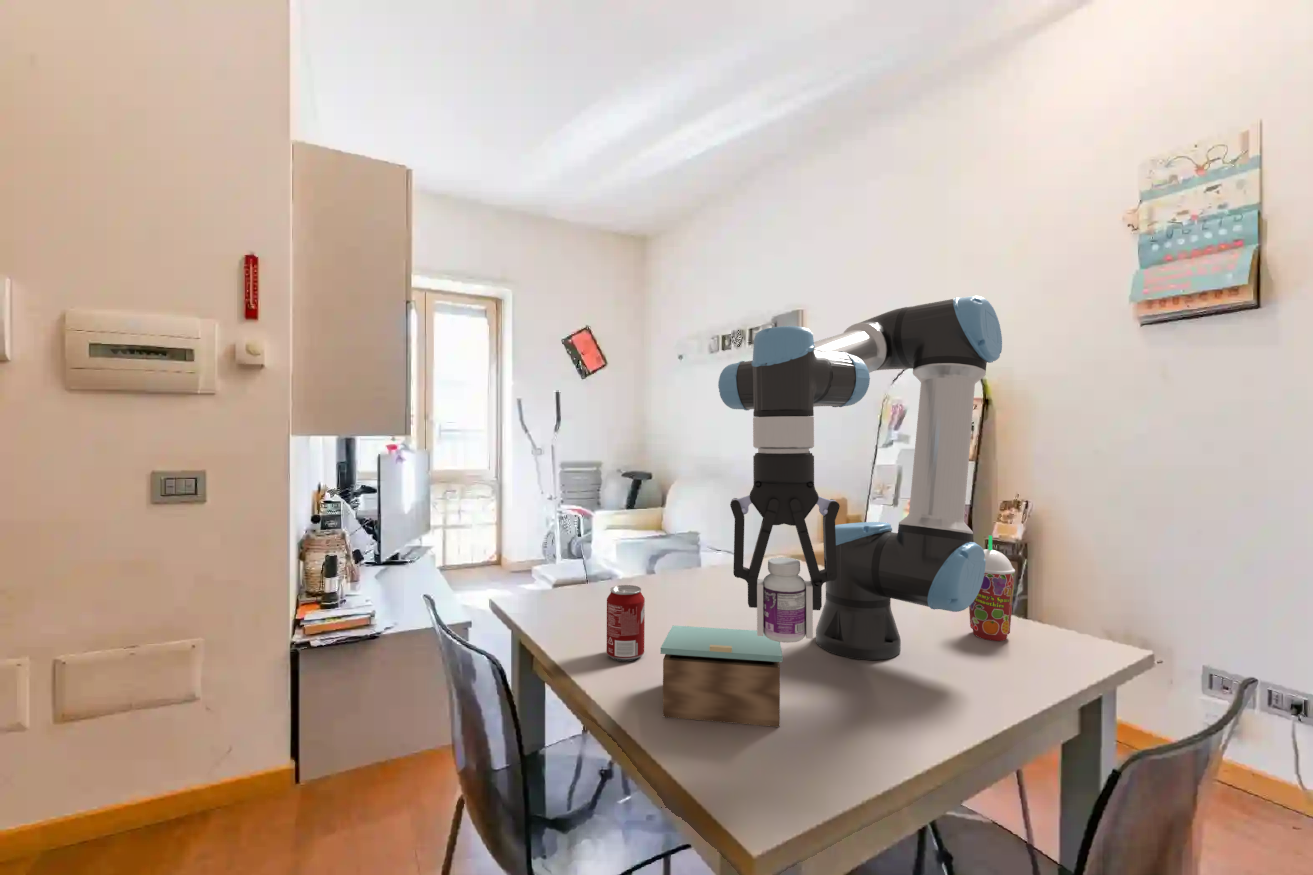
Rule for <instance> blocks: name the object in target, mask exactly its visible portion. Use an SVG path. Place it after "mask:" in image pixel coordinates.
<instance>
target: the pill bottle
mask: <svg viewBox="0 0 1313 875" xmlns="http://www.w3.org/2000/svg"><path fill="white" fill-rule="evenodd" d="M767 570H768V572H769V574H767V575H766V576H765V577H764V578H763V632H764V635H765V636H766V637H767V638H769V639H771V640H773V641H777V642H780V643H786V644H787V643H798V642H800V641H802V640H803V639H804V638H806V586H805V581H806V580H804V578H803V577H802V576H800V575H799V574H800V573H801V561H800V560H798V559H797V558H792V557H781V556H780V557H772V558H769V559H768V560H767Z"/></svg>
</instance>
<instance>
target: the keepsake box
mask: <svg viewBox="0 0 1313 875" xmlns="http://www.w3.org/2000/svg"><path fill="white" fill-rule="evenodd" d="M662 663H663V664H662V718H669V719H670V718H671V719H672V718H673V719H682V720H693V721H705V722H707V721H708V722H715V723H717V722H719V723H727V724H728V723H729V724H730V723H731V724H741V725H749V726H751V725H752V726H764V727H773V728H774V727H775V728H776V727H777V728H780V725H781V724H780V723H781V722H780V720H781V718H780V714H781V710H780V708H781V704H780V703H781V667H780V662H773V661H758V660H744V659H729V658H714V657H700V656H685V655H671V654H664V656H663V660H662Z"/></svg>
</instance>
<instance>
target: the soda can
mask: <svg viewBox="0 0 1313 875" xmlns="http://www.w3.org/2000/svg"><path fill="white" fill-rule="evenodd" d="M645 602H646V601H645V596H644V595H643V594H642V588H641V587H640V586H638V585H632V584H621V585H619V584H618V585H615V586H612V587H611V588H610V593H609V595H608V596H607V598H606V649H605V650H606V651H605V652H606V654H607V656H608V657H610V658H612V659H613V660H615V661H619V662H631V661H634V660H635V661H636V660H637V659H639V658H640V657H642V656H643V655H644V654H645V615H646V614H645V613H646V612H645V611H646V610H645V606H646V605H645Z"/></svg>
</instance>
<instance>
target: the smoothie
mask: <svg viewBox="0 0 1313 875" xmlns="http://www.w3.org/2000/svg"><path fill="white" fill-rule="evenodd" d="M983 550H984V554H985V557H984V559H985V562H986V565H985V574H984V578H983V582H982V585H981V588H980V591H979V593H978V595H977V597H976V598H975V600H974V601H973V603H972V604H971V605H970V606H969V607H968V610H969V611H968V613H969V624H970V626H969V627H970V629H972V633H973V635H974V636H975V637H976V638H977V637H978V638H979V639H981V640H982V639H983V640H987V641H991V642H1001V641H1005V640H1007V637H1008V635H1009V634H1010V633H1011V625H1012V623H1011V622H1012V621H1011V620H1012V612H1013V611H1012V610H1013V598H1014V597H1013V596H1014V587H1015V586H1014V584H1015V572H1016V569H1015V568H1014V566H1013V565H1012V563H1011V561H1010V560H1009V559H1008V557H1007V556H1006V555H1005V554H1003V553H1002V552H1001V551H998V550H995V549H993V535H988V548H987V549H986V548H985V549H984V548H983Z"/></svg>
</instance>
